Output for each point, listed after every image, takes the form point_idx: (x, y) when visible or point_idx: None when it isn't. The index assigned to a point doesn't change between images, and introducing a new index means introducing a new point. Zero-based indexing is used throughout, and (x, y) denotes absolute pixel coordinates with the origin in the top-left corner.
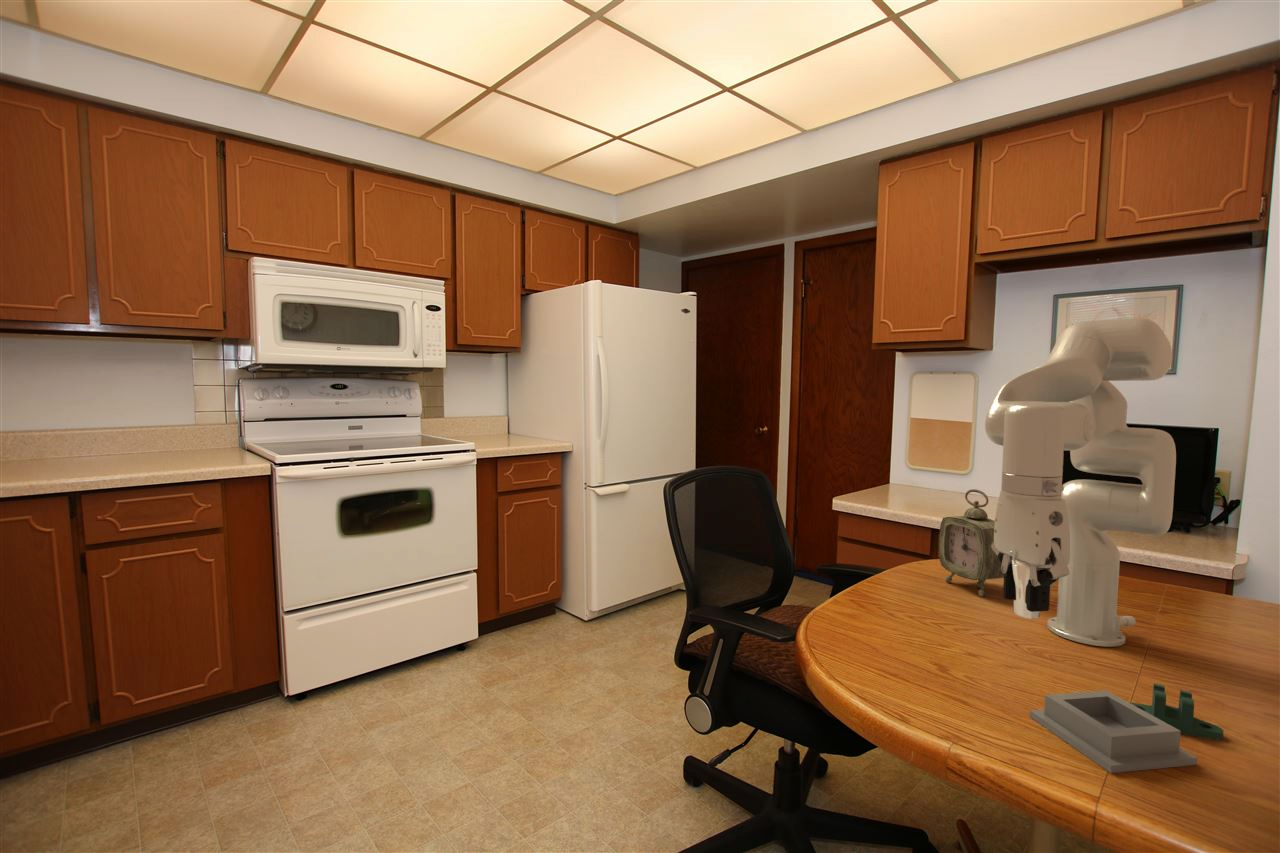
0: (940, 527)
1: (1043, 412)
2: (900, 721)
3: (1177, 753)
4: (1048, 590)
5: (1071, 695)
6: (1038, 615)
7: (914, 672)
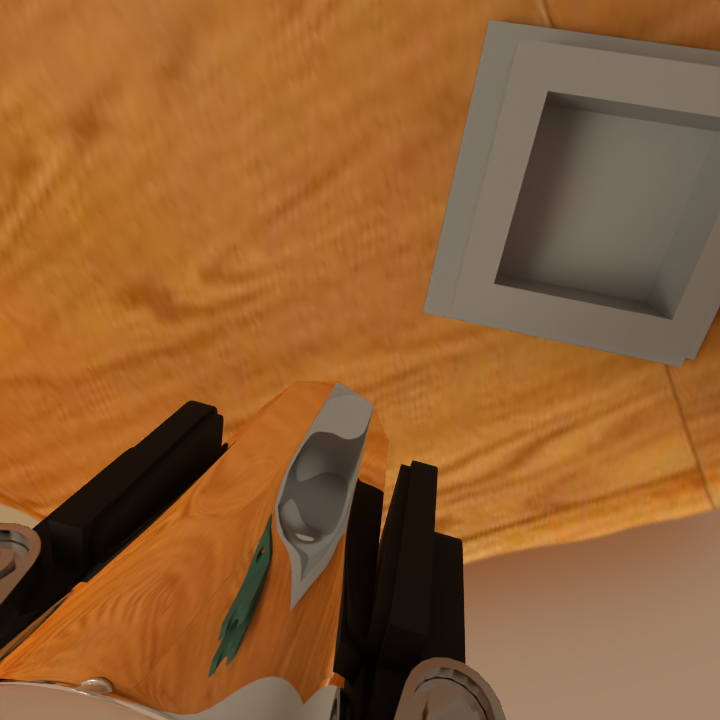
0: None
1: None
2: None
3: None
4: (463, 653)
5: (487, 226)
6: (386, 444)
7: (169, 389)
